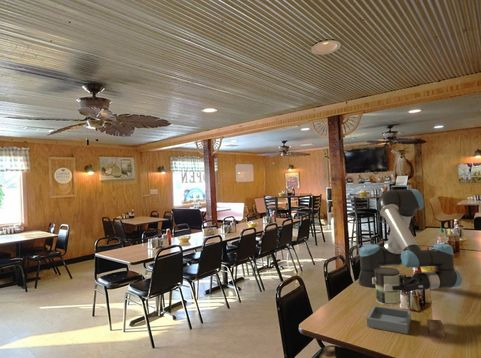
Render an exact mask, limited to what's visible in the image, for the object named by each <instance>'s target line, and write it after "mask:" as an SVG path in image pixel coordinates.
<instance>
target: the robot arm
mask: <svg viewBox="0 0 481 358" xmlns="http://www.w3.org/2000/svg"><path fill="white" fill-rule="evenodd" d="M423 208H424V198H423V195H422V193H421V191H420V190H418V189H416V188H408V189H389V190H386V191H383V193H381V194H380V196H379V198H378V200H377V209H378V213H379V214H380V216H382V217H383V218H384V219H385V221H386V224H387V225H388V227H389V228H390V231H389V236H388V239H387V240H386V241H385V242H384V244H383V246H380V245H379V244H375V243H374V244H365V245H363V246H361V247H360V248H359V261H360V263H359V265H360V272H359V276H358V281H357V282H358V284H359V285H360V286H364V287H369V288H376V285H375V271H374V270H375V269H376V268H381V267H392V266H402V265H403V266H404V267H406V268H415V269H416V268H425V267H426V268H427V267H434V269H435V270H433V271H432V270H431V271H424V272H422V271H421V272H420V271H419V272H415V273H413V275H412V276H411V275H407V274H399V281H400V286H399V284H388V285H384V291H385V292H386V291H398V290H400V292H404V293H409V292H414V291H418V290H419V291H423V290H432V291H433V290H434V289H436V290H437V289H451V288H457V287H460V286H461V285H462V282H463V277H461V275H462V274H461V273H460V272H459V271H458V270H456V269H455V263H454V262H455V260H454V248H453V246H452V245H450V244H447V243H436V244H433V248H431V249H421V247H420V246H419V244H418V242H417V240H416V239H415V237H414V235H413V234H412V231H411V230H410V228H409V227H410V225H411V224H410V223H411V220H412V218H413V217H414V216H416V214H417V211H420V210H423Z"/></svg>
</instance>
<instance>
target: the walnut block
mask: <svg viewBox="0 0 481 358" xmlns="http://www.w3.org/2000/svg"><path fill="white" fill-rule="evenodd" d="M426 326H427V332H428V334H429V336H430V337H435V338H443V339H444V338H445V325H444V323H443V321H442V320H440V319H429V318H427V319H426Z"/></svg>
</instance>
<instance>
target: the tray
mask: <svg viewBox="0 0 481 358" xmlns="http://www.w3.org/2000/svg"><path fill="white" fill-rule="evenodd" d="M411 322H412V311H411V310H406V309H398V308H391V307H385V306H378V305H373V306H372V308H371V310H370V312H369V313H368V315H367V317H366V326H367V327H368V328H372V329H378V330H383V331H389V332H395V333H400V334H404V335H408V334H409V330H410V326H411Z"/></svg>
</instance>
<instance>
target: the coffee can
mask: <svg viewBox="0 0 481 358" xmlns="http://www.w3.org/2000/svg"><path fill="white" fill-rule="evenodd" d="M374 271H375V285H376V287H375V298H376V299H375V301H376V302H377V303H378V304H380V305H382V306H383V305H384V306H389V307H390V306H392V307H394V306H399V305H400V304H401V303H402V302H401V291H400V290H398V291H386V292H385V291H384V285H388V284H399V286H400V281H399V275H400V270H399V269H396V268H393V267H389V266H381V268H376V269H375V270H374Z"/></svg>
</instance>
